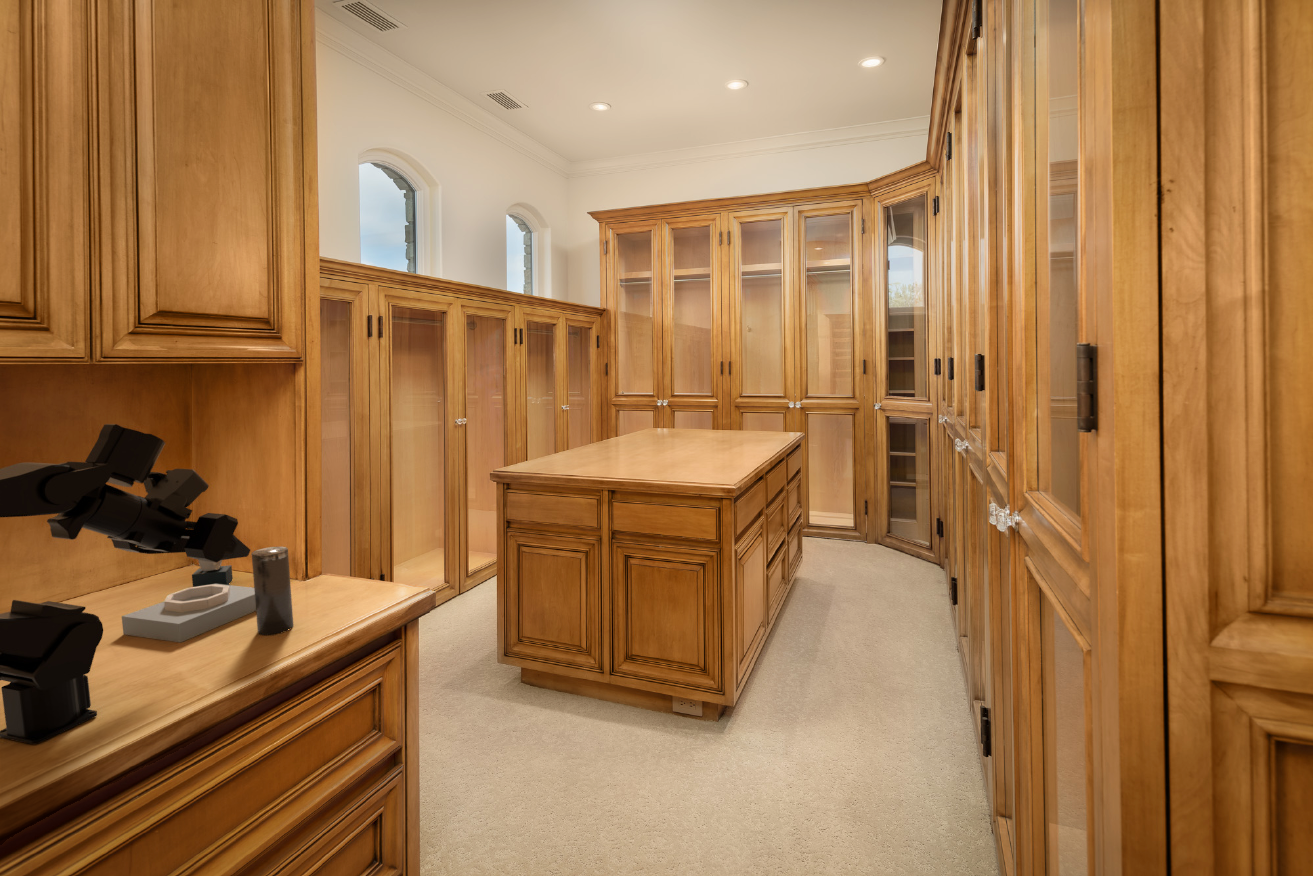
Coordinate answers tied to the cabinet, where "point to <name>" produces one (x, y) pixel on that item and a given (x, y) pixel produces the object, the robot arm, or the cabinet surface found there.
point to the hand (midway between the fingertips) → (225, 550)
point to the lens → (272, 590)
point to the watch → (212, 574)
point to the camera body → (190, 612)
